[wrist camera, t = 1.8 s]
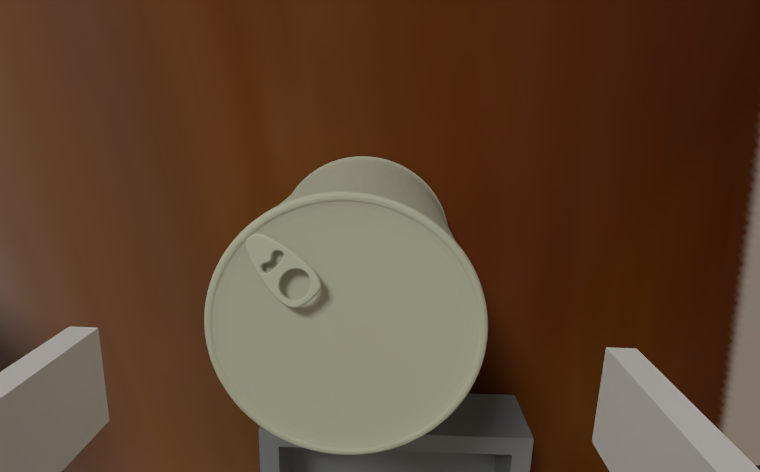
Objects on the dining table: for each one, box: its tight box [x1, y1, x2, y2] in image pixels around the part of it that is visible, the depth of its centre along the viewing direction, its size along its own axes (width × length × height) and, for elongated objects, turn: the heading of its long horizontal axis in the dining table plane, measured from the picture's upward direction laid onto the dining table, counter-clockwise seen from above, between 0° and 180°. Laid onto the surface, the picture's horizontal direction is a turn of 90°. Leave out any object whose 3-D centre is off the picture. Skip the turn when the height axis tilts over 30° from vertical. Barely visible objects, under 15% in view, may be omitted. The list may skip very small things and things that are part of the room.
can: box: [204, 156, 488, 455], centre depth 21 cm, size 9×9×12 cm
